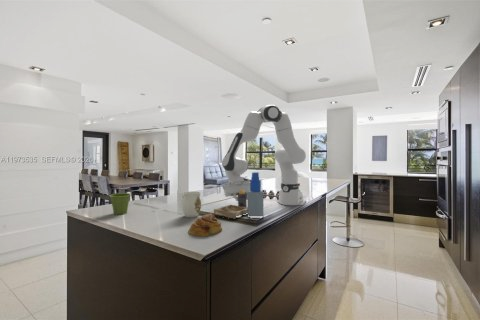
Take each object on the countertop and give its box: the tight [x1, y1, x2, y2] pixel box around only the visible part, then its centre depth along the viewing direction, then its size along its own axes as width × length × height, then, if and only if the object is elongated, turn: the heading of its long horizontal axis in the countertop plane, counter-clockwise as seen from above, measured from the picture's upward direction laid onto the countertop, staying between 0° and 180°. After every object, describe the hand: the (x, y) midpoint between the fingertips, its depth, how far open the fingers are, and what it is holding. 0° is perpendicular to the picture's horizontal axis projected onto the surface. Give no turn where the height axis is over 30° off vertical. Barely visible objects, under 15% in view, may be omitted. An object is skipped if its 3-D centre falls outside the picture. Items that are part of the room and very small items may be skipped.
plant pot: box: [108, 192, 132, 216], centre depth 146 cm, size 12×12×11 cm
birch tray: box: [213, 204, 248, 217], centre depth 141 cm, size 15×15×4 cm
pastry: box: [187, 212, 223, 237], centre depth 113 cm, size 13×15×8 cm
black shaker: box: [237, 193, 248, 208], centre depth 155 cm, size 6×6×9 cm
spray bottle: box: [247, 171, 264, 217], centre depth 136 cm, size 9×9×25 cm
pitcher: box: [181, 191, 202, 218], centre depth 140 cm, size 11×18×14 cm, turn 162°
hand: (242, 199), depth 154 cm, fingers closed on black shaker, 5 cm apart
